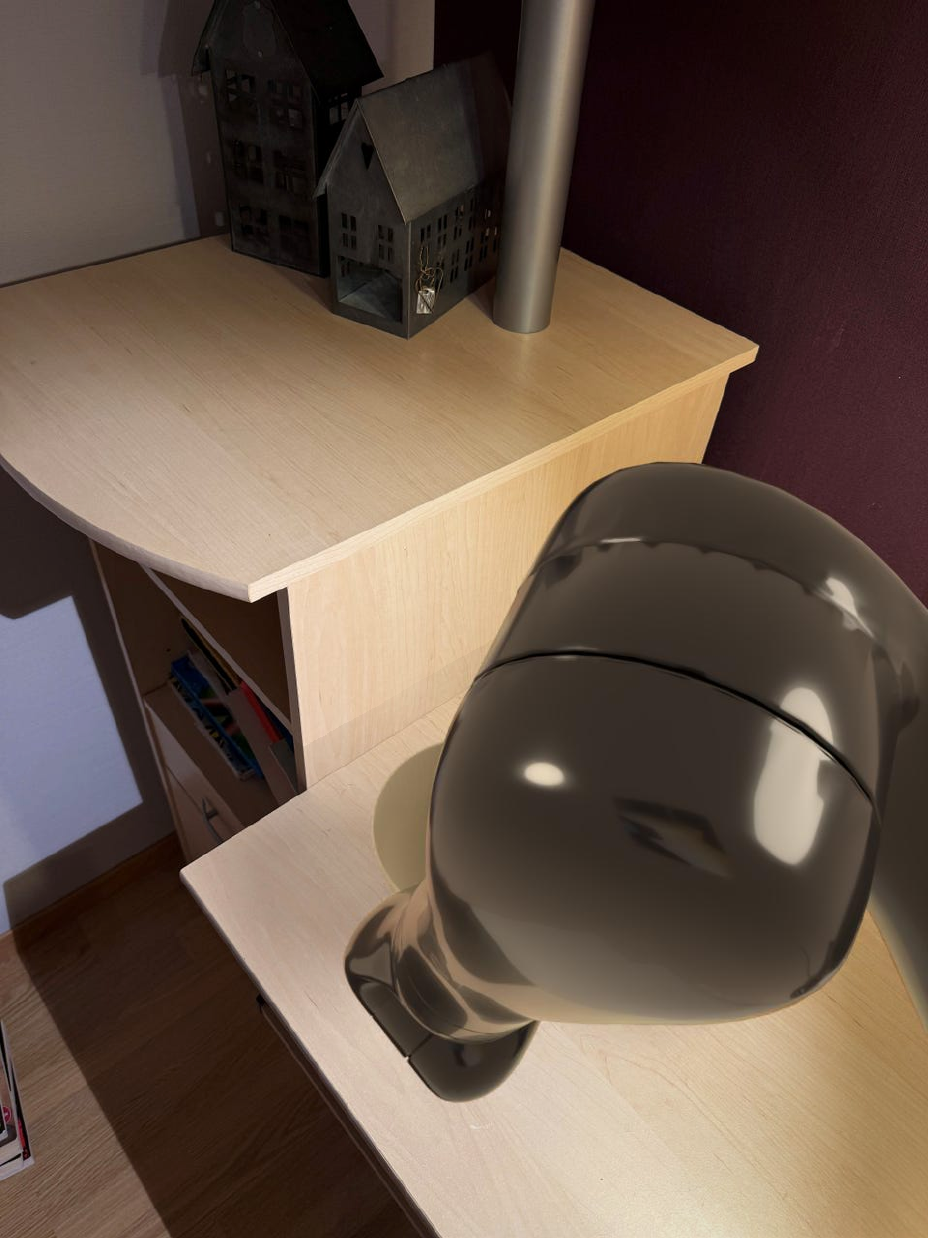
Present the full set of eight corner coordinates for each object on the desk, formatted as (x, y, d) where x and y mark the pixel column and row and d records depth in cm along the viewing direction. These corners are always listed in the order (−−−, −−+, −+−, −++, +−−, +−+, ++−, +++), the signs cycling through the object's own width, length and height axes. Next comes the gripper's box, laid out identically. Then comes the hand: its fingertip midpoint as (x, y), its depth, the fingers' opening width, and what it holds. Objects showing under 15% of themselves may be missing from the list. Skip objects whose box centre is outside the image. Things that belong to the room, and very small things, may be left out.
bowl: (435, 1033, 65) (444, 972, 58) (336, 859, 74) (332, 788, 67) (610, 928, 71) (637, 862, 64) (499, 780, 81) (511, 708, 74)
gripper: (749, 849, 50) (886, 693, 59) (551, 700, 57) (702, 581, 66) (712, 915, 55) (843, 762, 64) (535, 771, 62) (677, 652, 71)
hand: (771, 671), depth 65 cm, fingers closed on bottle, 5 cm apart
